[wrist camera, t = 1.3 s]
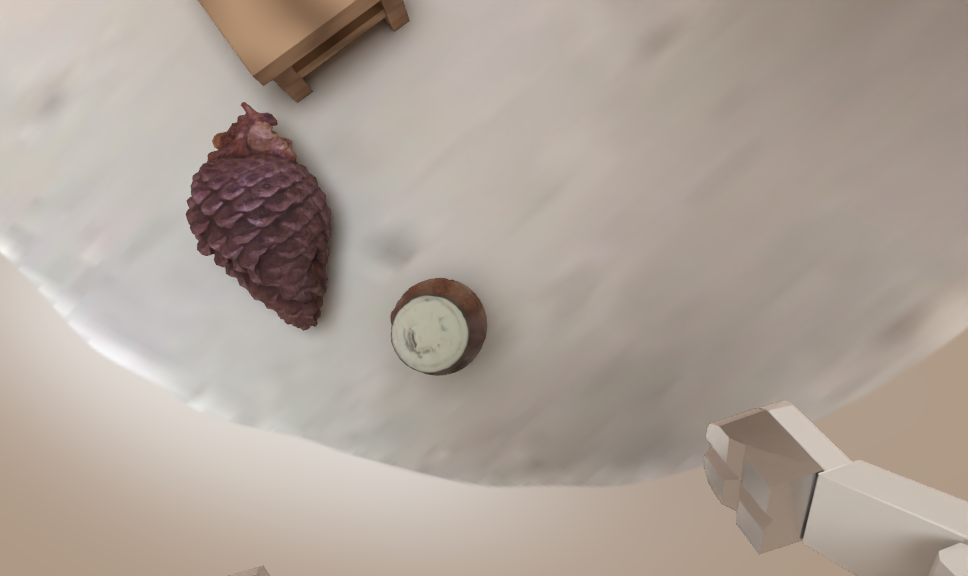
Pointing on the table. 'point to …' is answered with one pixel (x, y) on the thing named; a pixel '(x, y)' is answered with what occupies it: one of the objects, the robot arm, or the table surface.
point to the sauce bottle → (438, 326)
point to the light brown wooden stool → (296, 33)
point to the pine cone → (263, 218)
